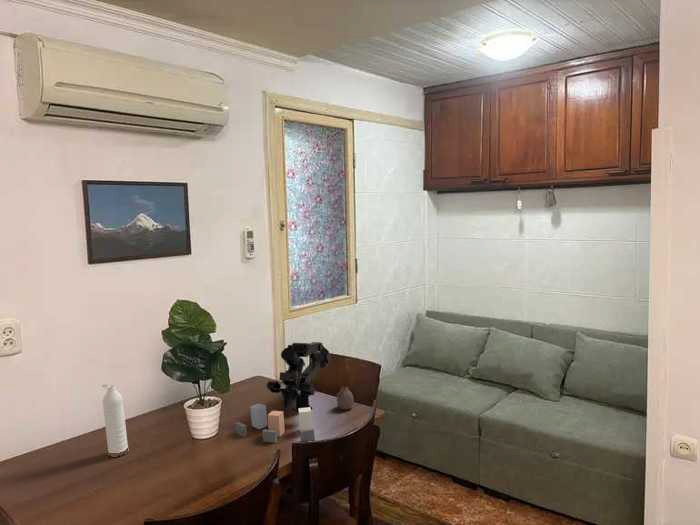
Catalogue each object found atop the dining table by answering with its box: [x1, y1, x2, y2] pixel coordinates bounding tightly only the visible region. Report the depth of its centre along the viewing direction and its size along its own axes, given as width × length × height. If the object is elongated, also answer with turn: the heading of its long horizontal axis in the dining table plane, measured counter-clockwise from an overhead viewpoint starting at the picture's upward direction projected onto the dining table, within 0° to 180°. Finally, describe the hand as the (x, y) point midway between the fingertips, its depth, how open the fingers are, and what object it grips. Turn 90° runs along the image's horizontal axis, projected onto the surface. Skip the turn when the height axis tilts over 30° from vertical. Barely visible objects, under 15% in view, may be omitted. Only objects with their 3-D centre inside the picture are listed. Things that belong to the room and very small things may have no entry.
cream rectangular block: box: [298, 407, 313, 431], centre depth 199 cm, size 4×4×8 cm
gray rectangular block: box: [250, 403, 268, 430], centre depth 204 cm, size 4×4×8 cm
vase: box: [336, 386, 354, 411], centre depth 218 cm, size 7×7×9 cm
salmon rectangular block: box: [267, 410, 286, 438], centre depth 197 cm, size 4×4×8 cm
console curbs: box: [234, 421, 316, 444], centre depth 194 cm, size 32×6×4 cm, turn 73°
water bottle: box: [101, 382, 129, 453], centre depth 188 cm, size 9×6×25 cm
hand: (285, 408), depth 205 cm, fingers closed
